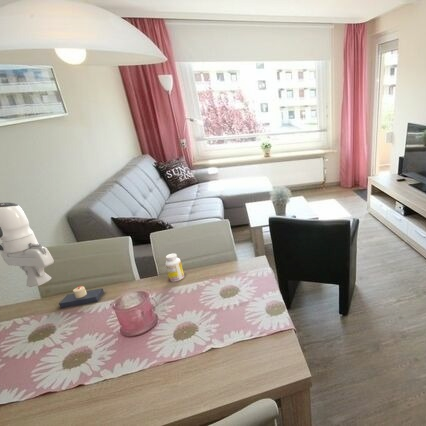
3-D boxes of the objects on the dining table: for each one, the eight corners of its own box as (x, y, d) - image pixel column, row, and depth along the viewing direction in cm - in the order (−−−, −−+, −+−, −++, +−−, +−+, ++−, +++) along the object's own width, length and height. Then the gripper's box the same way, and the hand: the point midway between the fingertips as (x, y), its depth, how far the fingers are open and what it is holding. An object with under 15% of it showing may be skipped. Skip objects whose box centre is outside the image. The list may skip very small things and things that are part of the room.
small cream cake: (84, 296, 128) (81, 289, 127) (74, 299, 127) (70, 291, 126) (88, 292, 132) (85, 284, 131) (78, 294, 131) (75, 286, 130)
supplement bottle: (180, 273, 148) (174, 251, 144) (187, 277, 145) (181, 254, 140) (167, 279, 143) (160, 256, 139) (174, 283, 140) (167, 260, 135)
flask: (38, 287, 114) (28, 264, 110) (22, 287, 114) (11, 265, 111) (56, 277, 120) (46, 255, 117) (40, 277, 121) (30, 256, 118)
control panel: (61, 309, 126) (58, 303, 125) (69, 299, 132) (67, 294, 131) (97, 302, 129) (95, 296, 128) (104, 293, 135) (102, 288, 134)
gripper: (50, 240, 112) (64, 271, 117) (11, 239, 117) (25, 269, 121) (32, 247, 106) (47, 280, 111) (-8, 246, 111) (7, 277, 115)
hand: (35, 274), depth 116 cm, fingers closed on flask, 5 cm apart
